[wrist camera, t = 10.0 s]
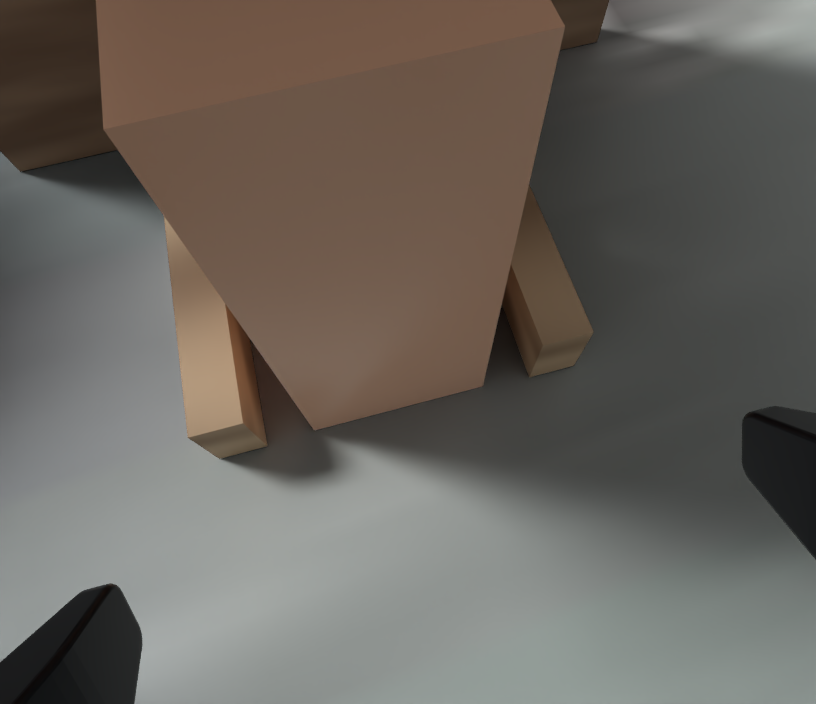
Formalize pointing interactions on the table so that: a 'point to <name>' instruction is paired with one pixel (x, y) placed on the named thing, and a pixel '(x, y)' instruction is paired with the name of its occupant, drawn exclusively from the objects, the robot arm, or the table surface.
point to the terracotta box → (340, 174)
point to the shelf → (192, 291)
